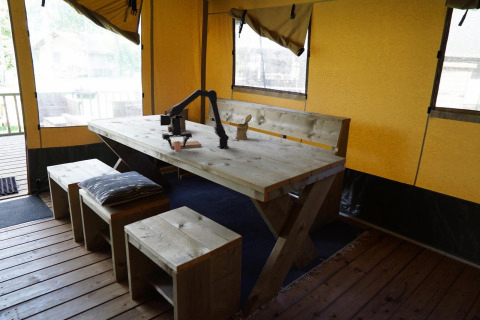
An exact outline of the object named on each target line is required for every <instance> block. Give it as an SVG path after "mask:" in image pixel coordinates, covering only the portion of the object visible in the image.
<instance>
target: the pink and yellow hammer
mask: <svg viewBox="0 0 480 320" xmlns="http://www.w3.org/2000/svg"><path fill="white" fill-rule="evenodd" d="M181 142H182V141H180V140H179V141H178V140H172V143H174V149H173V150H174V151H175V152H179V151H182V148H181Z"/></svg>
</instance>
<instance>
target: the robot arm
mask: <svg viewBox="0 0 480 320" xmlns="http://www.w3.org/2000/svg"><path fill="white" fill-rule="evenodd" d="M198 97H205V98H207V100H208V101H209V104H210V106H211V111H212V115H213V119H214V124H215V126H213V130H214V134H215V135H216V136H218V139H219V140H218V141H219V143H218V144H219V145H217V147H218V148H219V149H221V150H222V149H230V147H229V146H228V145H229V144H228V142H229V141H228V140H229V139H230V136H229V135H228V134H227V133H226V130H225V128H224V125H223V124H222V119H221V117H220V115H221V114H220V111H219V107H218V94H217V92H216V90H214V89H211V88H210V89H208V90H206V89H200V88H197V89H195V91H194V92H192V93H191V94H189V95H188V96H186V98H184V99H183V100H182V101H180V102H178V103H176V105H175V104H174V105H172V107H170V108H171V112H170V113H169V115H167V114H160V115H159V116H160V119H159V123H160V126H161V127H163V126H165V127H166V126H167V131H168V133H162V135H161V138H162V140H163V141H164V140H165V141H166V142H167V143H168V145H169V147H170V150H173V149H172V144H171V143H172V140H171V138H181V137H182V138H183V141H182V142H183V148H182V149H185V148H184V147H185V144H186V142H188V140H190V138H193V134H192V133H191V131H184V132H183V133H182V132H181V118H184V117H183V116H182V115H181V114H180V113H181V112H182V111H183V110H184V109H185V108H186V107H187V106H189V105H190V104H192V103H193V102H194V101H195V100H196V99H197V98H198ZM179 114H180V115H179ZM175 115H179V116H175ZM174 116H175V117H174ZM171 119H172V128H168V125H169V124H171ZM170 133H171V134H170Z"/></svg>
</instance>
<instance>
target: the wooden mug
mask: <svg viewBox="0 0 480 320" xmlns="http://www.w3.org/2000/svg"><path fill="white" fill-rule="evenodd" d="M252 117H253V116H252V114H248V115H246V117H245V119H244V122H243V123H237V126H236V135H235V139H236V140H239V141H242V140H243V141H244V140H247V139H248V135H247V132H248V130H249V122H250V121H252Z"/></svg>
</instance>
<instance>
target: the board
mask: <svg viewBox="0 0 480 320" xmlns="http://www.w3.org/2000/svg"><path fill="white" fill-rule="evenodd" d="M180 142H181V149H190V148H191V149H193V148H202V143H201V142H199V141H198V140H191V141H187V142H186V144H185V147H184V148H183V141H180ZM171 144H172V149H171V150H174V143H173V142H171Z"/></svg>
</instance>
